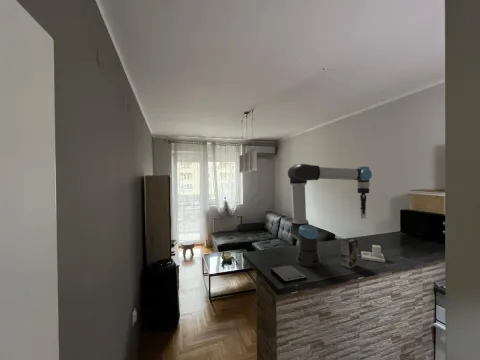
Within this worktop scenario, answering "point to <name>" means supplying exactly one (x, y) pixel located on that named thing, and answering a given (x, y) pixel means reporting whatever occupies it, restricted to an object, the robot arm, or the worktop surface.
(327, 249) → the worktop surface
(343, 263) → the coffee box
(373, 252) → the charger
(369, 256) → the outlet plate
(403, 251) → the worktop surface
